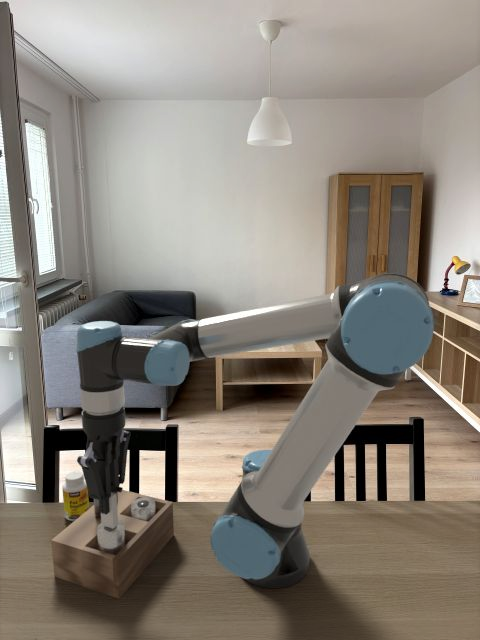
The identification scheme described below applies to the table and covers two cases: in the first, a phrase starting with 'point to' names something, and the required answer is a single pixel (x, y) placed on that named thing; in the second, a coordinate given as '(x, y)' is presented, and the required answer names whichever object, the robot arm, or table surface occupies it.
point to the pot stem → (97, 508)
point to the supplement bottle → (75, 495)
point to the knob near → (111, 538)
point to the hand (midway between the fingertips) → (109, 524)
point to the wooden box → (103, 568)
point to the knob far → (143, 509)
